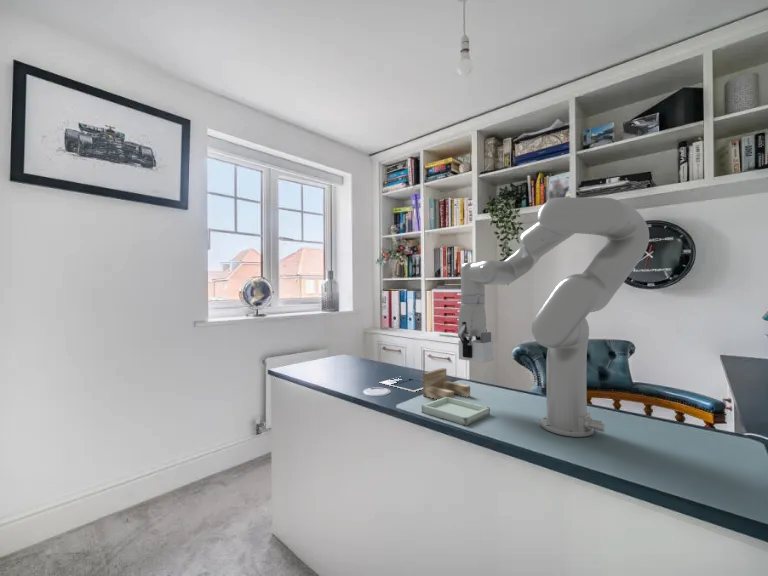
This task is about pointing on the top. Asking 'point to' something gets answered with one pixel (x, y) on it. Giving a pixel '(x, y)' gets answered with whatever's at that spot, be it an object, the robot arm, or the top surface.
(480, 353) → the white box
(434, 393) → the dock
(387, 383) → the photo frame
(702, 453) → the top surface
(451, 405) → the tray
